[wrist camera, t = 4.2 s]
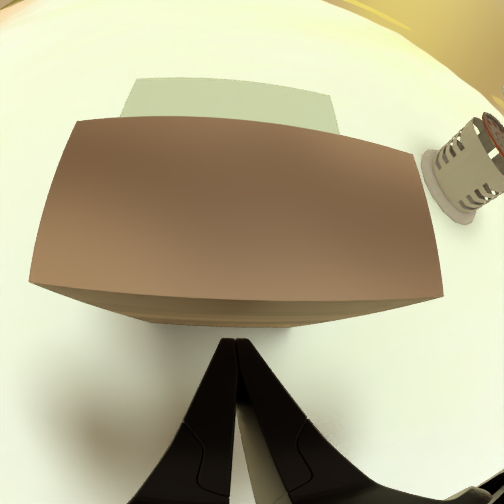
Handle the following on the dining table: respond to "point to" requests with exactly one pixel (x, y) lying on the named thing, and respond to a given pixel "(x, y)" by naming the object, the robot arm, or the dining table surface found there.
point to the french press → (467, 169)
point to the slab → (234, 223)
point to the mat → (231, 102)
